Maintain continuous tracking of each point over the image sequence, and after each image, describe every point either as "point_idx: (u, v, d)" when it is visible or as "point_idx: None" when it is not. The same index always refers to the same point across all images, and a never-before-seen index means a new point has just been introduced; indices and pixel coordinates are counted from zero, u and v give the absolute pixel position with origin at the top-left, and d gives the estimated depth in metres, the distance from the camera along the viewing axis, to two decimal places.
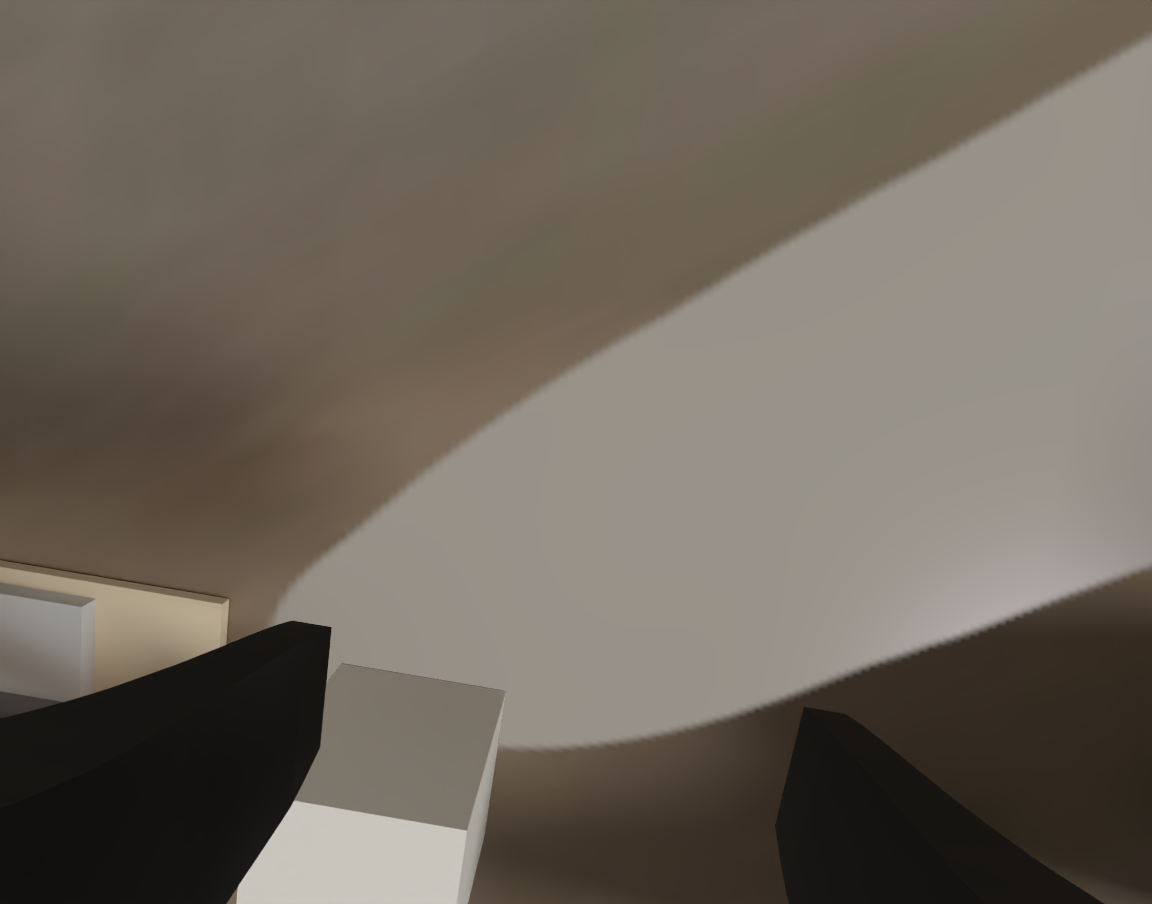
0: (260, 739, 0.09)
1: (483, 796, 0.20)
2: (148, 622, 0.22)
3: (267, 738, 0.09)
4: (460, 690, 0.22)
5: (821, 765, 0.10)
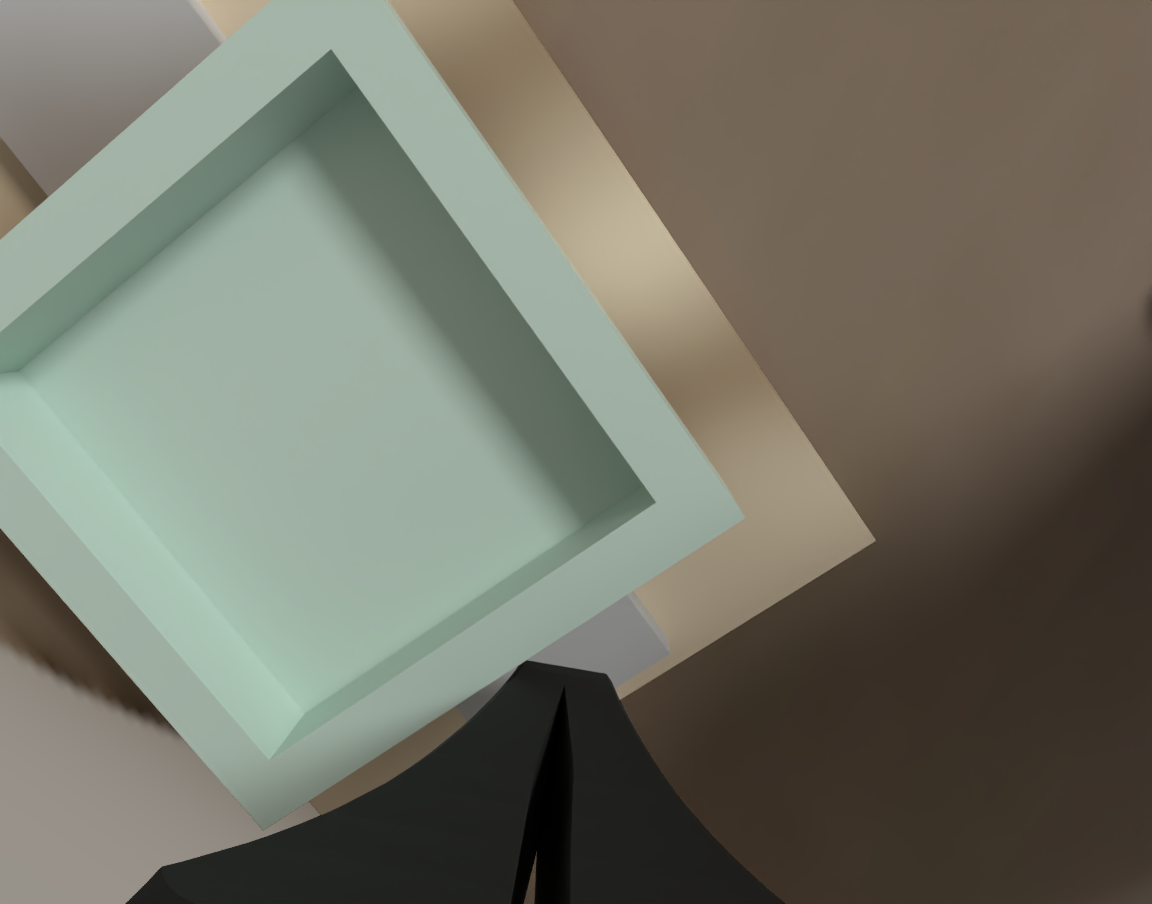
0: (541, 786, 0.09)
1: None
2: None
3: (543, 785, 0.09)
4: None
5: (559, 720, 0.10)
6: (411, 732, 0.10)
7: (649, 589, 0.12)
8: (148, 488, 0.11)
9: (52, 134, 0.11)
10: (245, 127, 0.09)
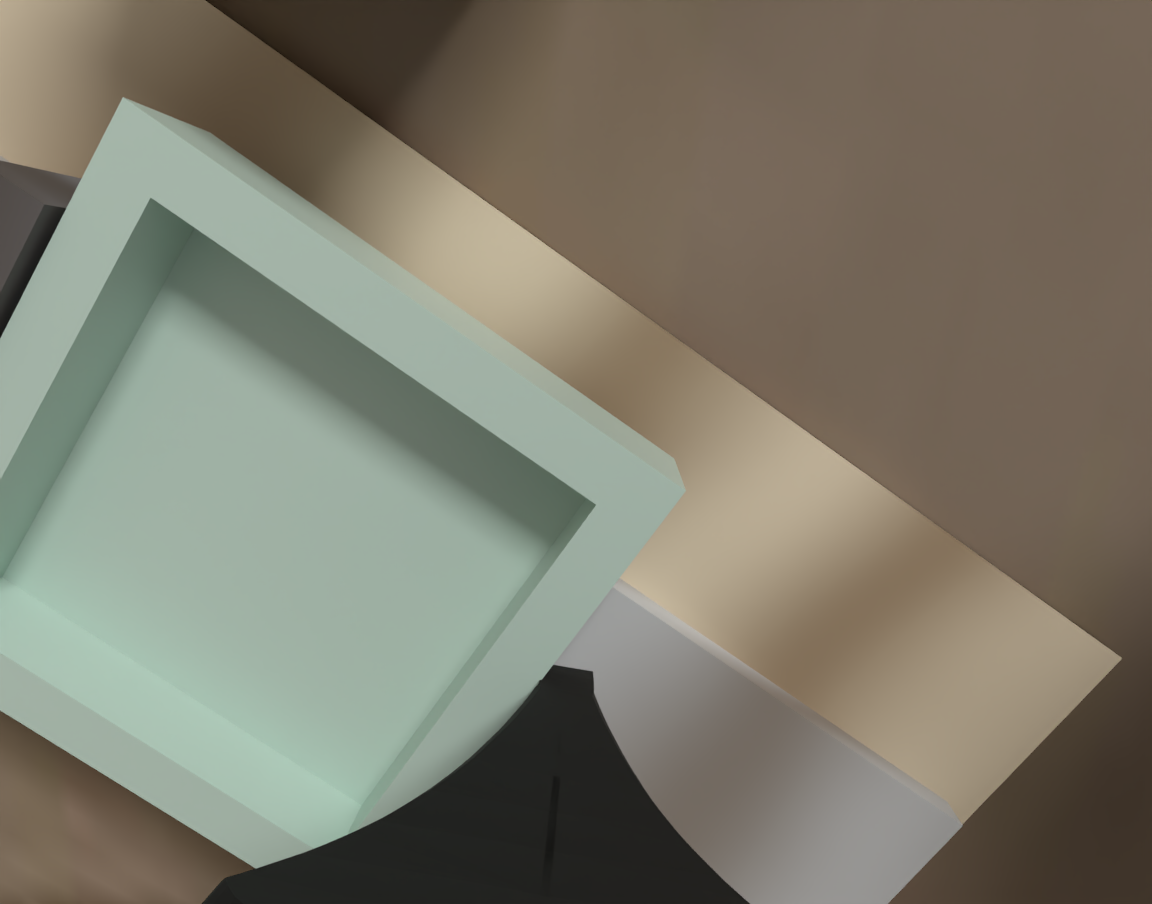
0: None
1: None
2: (7, 37, 0.11)
3: None
4: None
5: None
6: None
7: (916, 764, 0.13)
8: (149, 643, 0.11)
9: None
10: (104, 294, 0.09)
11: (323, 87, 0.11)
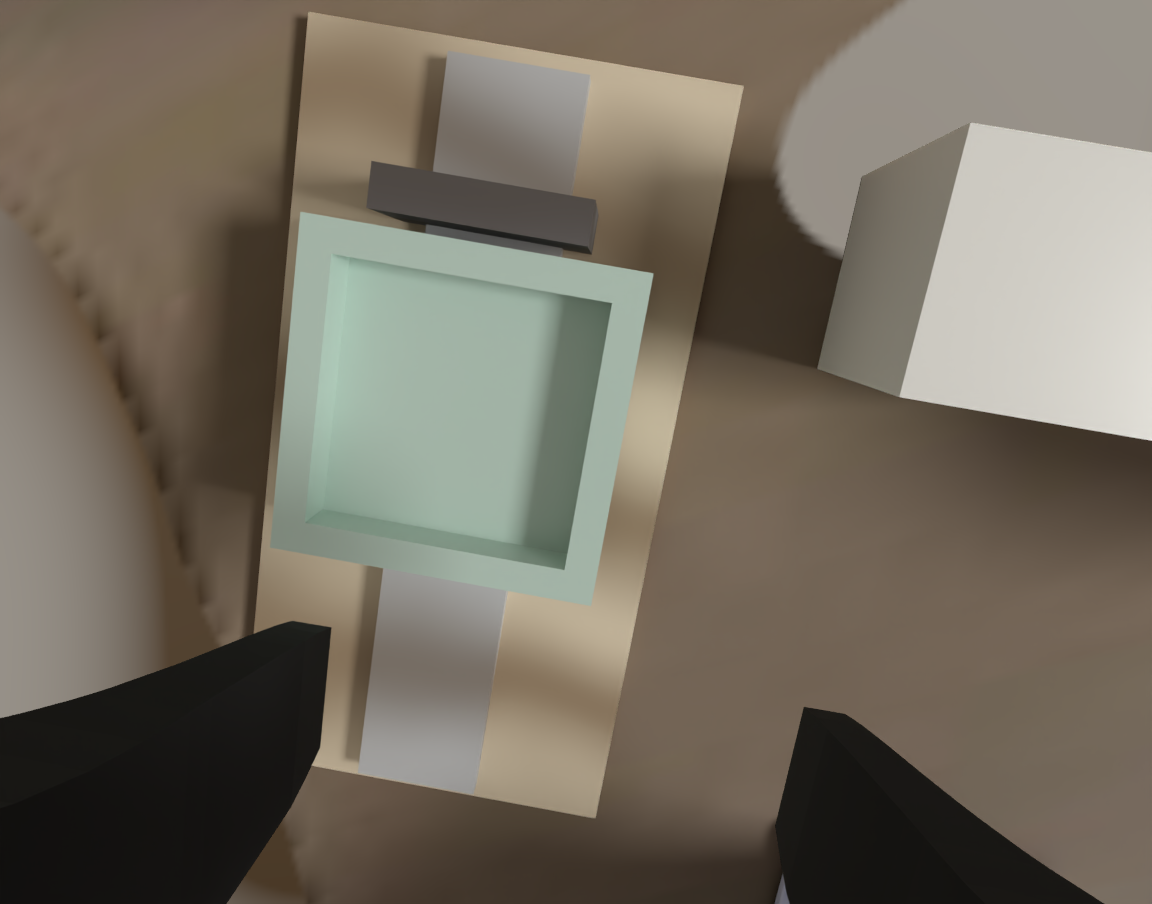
0: (260, 739, 0.09)
1: None
2: (650, 112, 0.19)
3: (267, 738, 0.09)
4: None
5: (821, 765, 0.10)
6: (378, 565, 0.18)
7: (488, 757, 0.22)
8: (355, 356, 0.19)
9: None
10: (552, 292, 0.17)
11: (698, 302, 0.20)
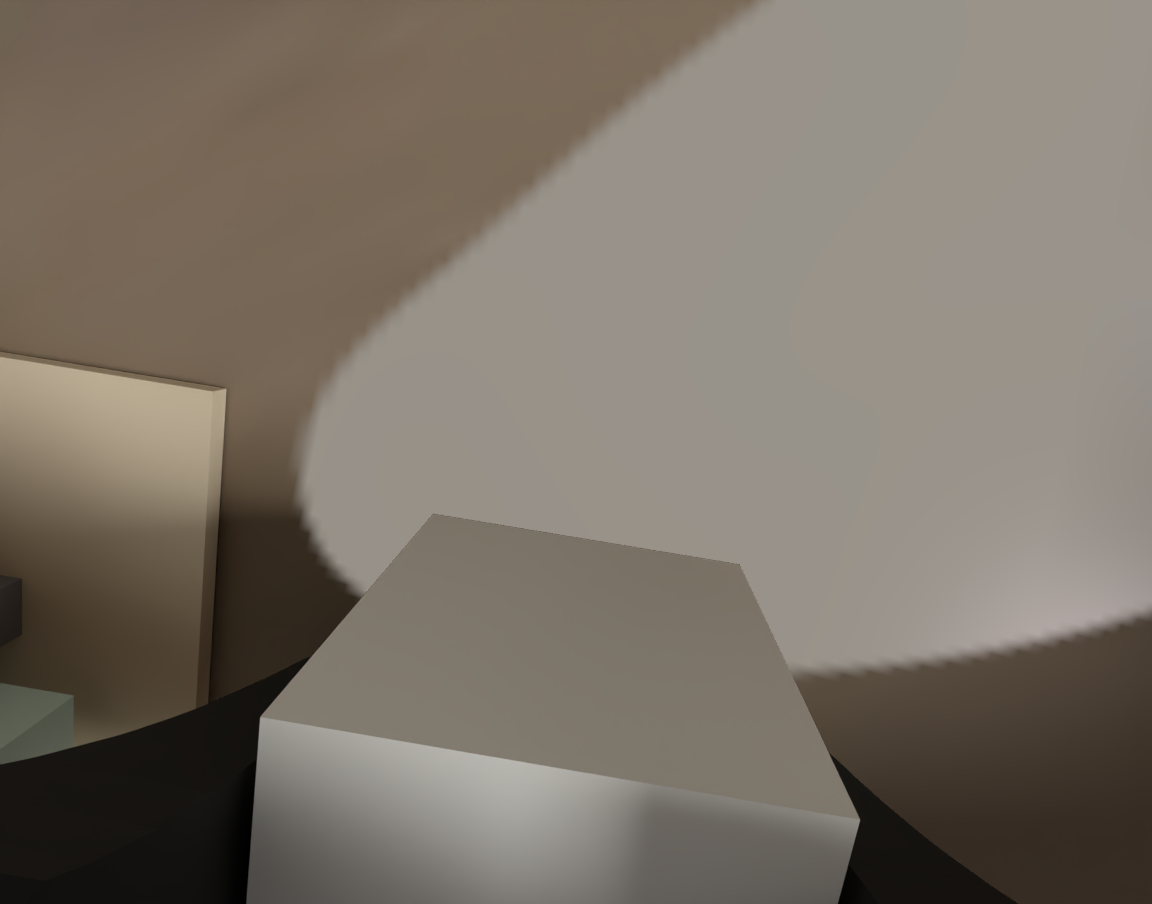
0: None
1: None
2: (74, 430, 0.12)
3: None
4: (661, 559, 0.12)
5: None
6: None
7: None
8: None
9: None
10: None
11: (195, 702, 0.13)
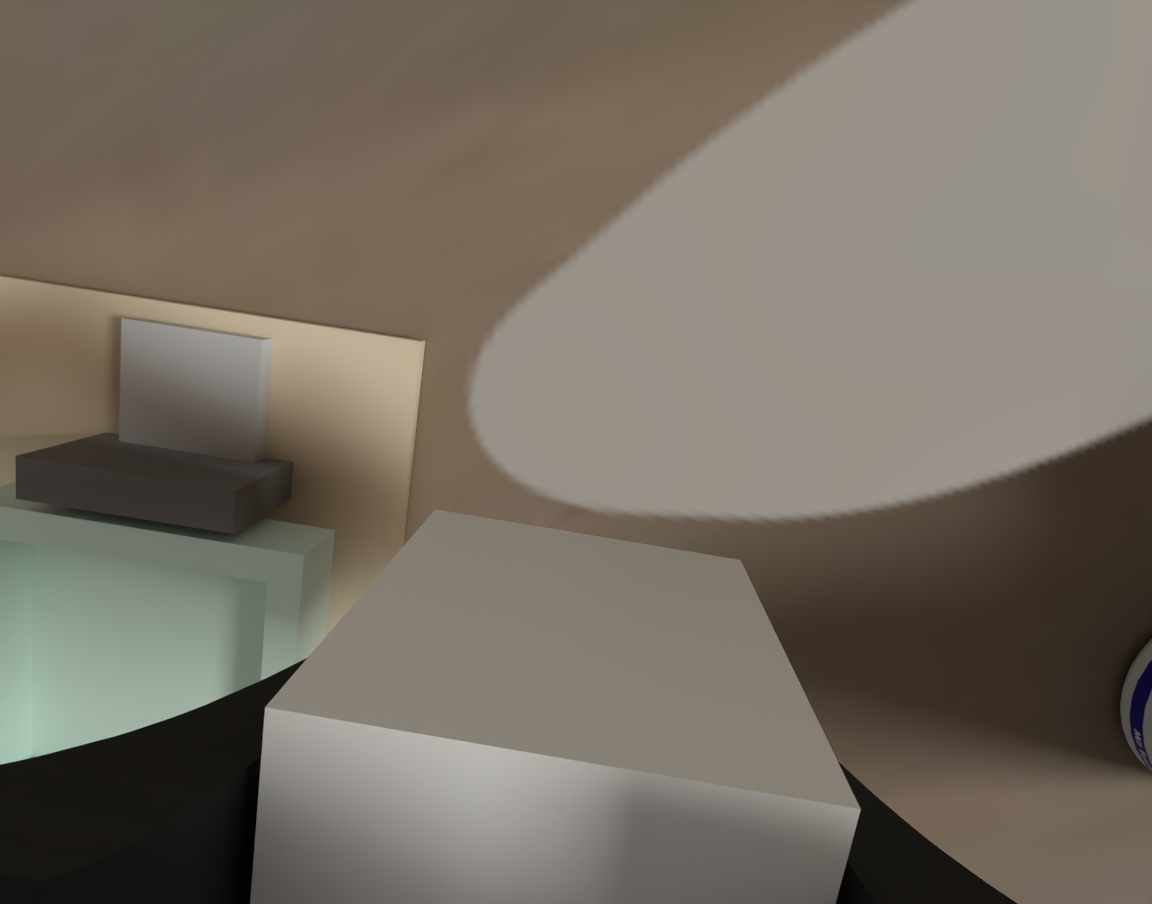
0: None
1: None
2: (333, 366, 0.19)
3: None
4: (662, 555, 0.12)
5: None
6: None
7: None
8: (46, 614, 0.19)
9: None
10: (210, 571, 0.17)
11: (399, 542, 0.20)
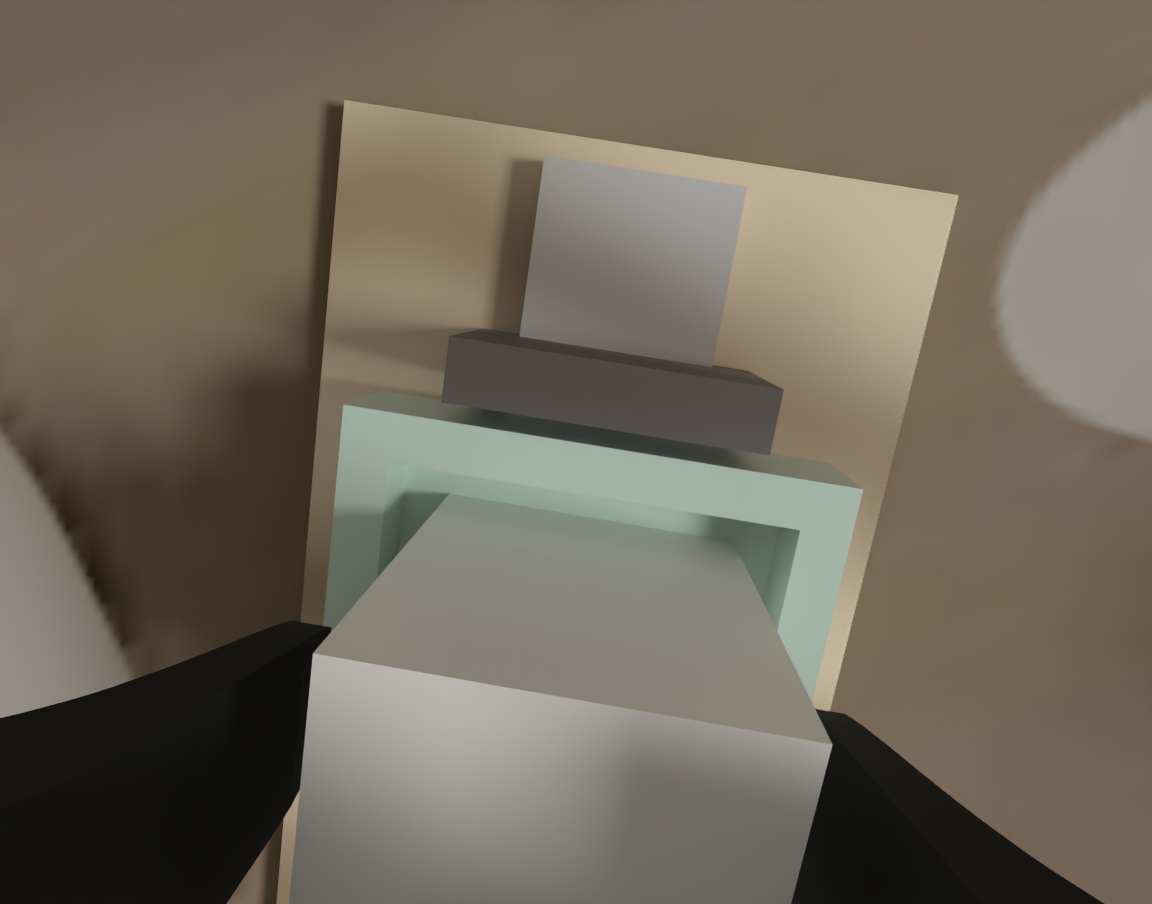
0: (260, 739, 0.09)
1: None
2: (824, 232, 0.13)
3: (267, 738, 0.09)
4: (660, 536, 0.12)
5: None
6: None
7: None
8: None
9: None
10: (710, 513, 0.12)
11: (883, 484, 0.14)
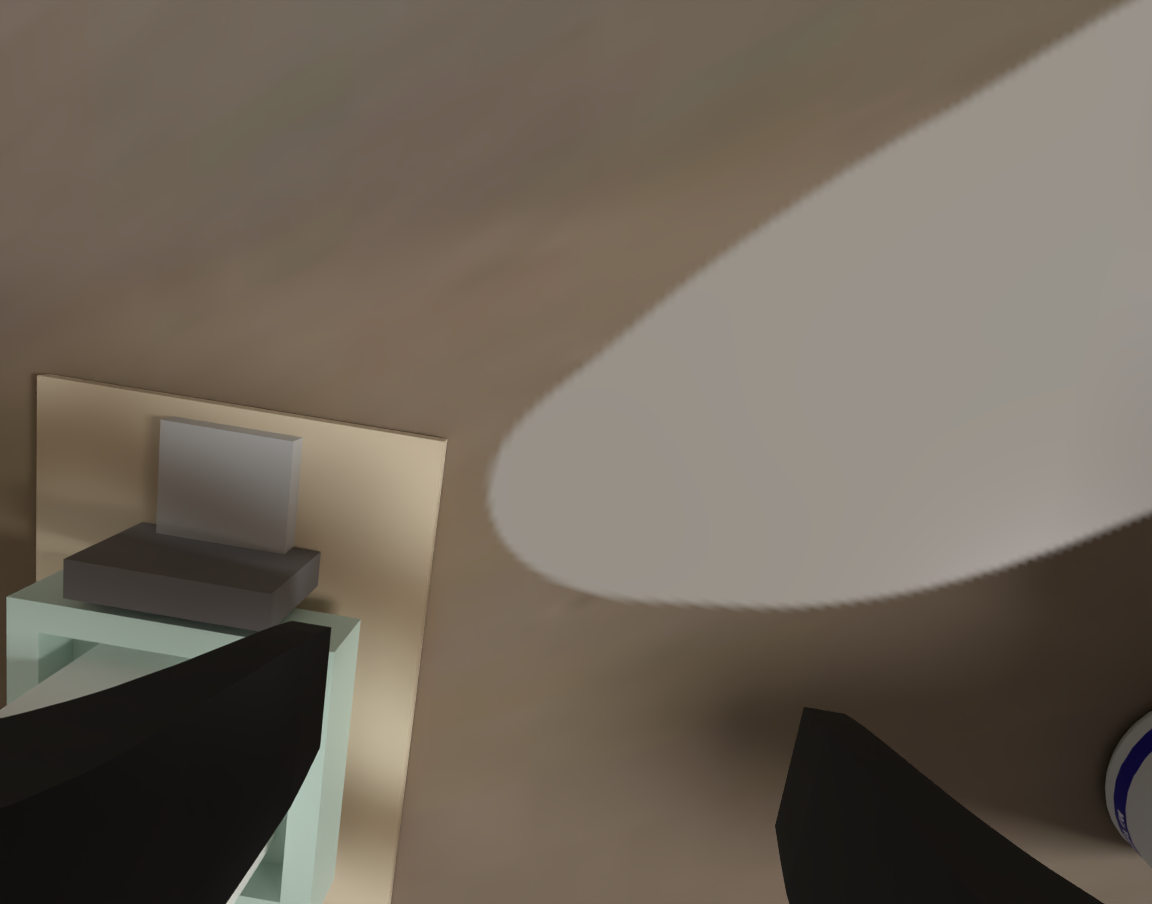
0: (260, 738, 0.09)
1: None
2: (360, 463, 0.20)
3: (267, 738, 0.09)
4: None
5: (821, 765, 0.10)
6: None
7: None
8: None
9: None
10: None
11: (420, 626, 0.21)
